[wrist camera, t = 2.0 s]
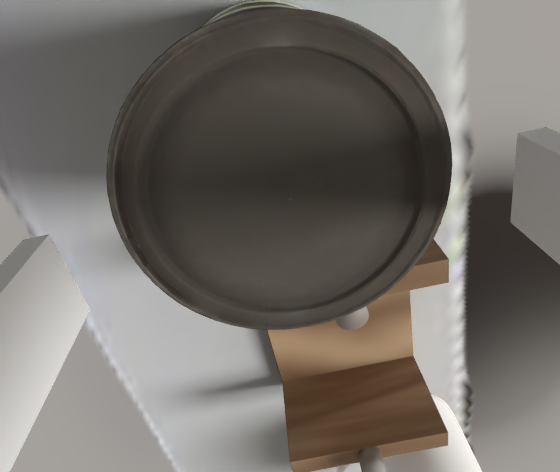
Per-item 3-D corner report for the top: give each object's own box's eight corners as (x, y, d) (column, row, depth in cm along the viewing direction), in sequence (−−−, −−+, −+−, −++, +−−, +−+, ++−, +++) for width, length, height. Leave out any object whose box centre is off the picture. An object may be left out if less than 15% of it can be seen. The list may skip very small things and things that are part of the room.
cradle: (239, 227, 29) (237, 327, 20) (399, 193, 29) (466, 281, 20) (284, 384, 37) (297, 504, 29) (409, 360, 37) (460, 474, 28)
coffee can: (267, -52, 21) (296, -104, 9) (386, 101, 26) (515, 203, 13) (137, 96, 24) (30, 203, 12) (263, 210, 29) (276, 374, 16)
